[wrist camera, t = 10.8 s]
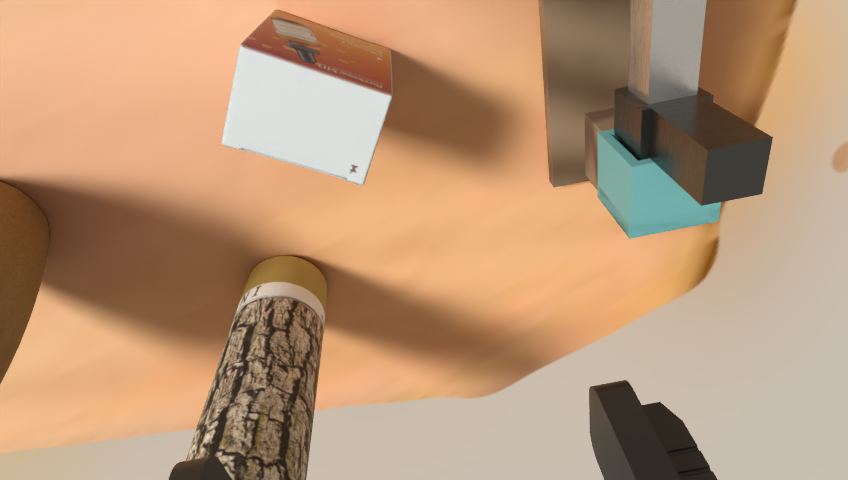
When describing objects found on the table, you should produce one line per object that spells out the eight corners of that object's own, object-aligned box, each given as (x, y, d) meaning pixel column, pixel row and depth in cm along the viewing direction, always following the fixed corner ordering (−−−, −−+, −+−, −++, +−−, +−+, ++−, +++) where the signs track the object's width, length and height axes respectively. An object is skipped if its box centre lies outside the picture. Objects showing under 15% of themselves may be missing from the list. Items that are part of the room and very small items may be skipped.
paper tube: (332, 256, 45) (295, 573, 24) (324, 318, 48) (285, 641, 27) (249, 246, 43) (131, 570, 22) (246, 310, 47) (143, 642, 26)
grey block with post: (618, -170, 26) (735, -206, 18) (699, -188, 26) (856, -233, 17) (613, 174, 36) (685, 256, 28) (671, 163, 36) (762, 242, 28)
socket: (597, 131, 35) (631, 167, 31) (681, 114, 35) (728, 147, 30) (597, 196, 38) (629, 238, 33) (675, 181, 38) (718, 221, 33)
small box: (392, 48, 36) (398, 95, 27) (368, 123, 39) (366, 189, 30) (273, 5, 34) (237, 41, 25) (256, 88, 37) (219, 146, 28)
